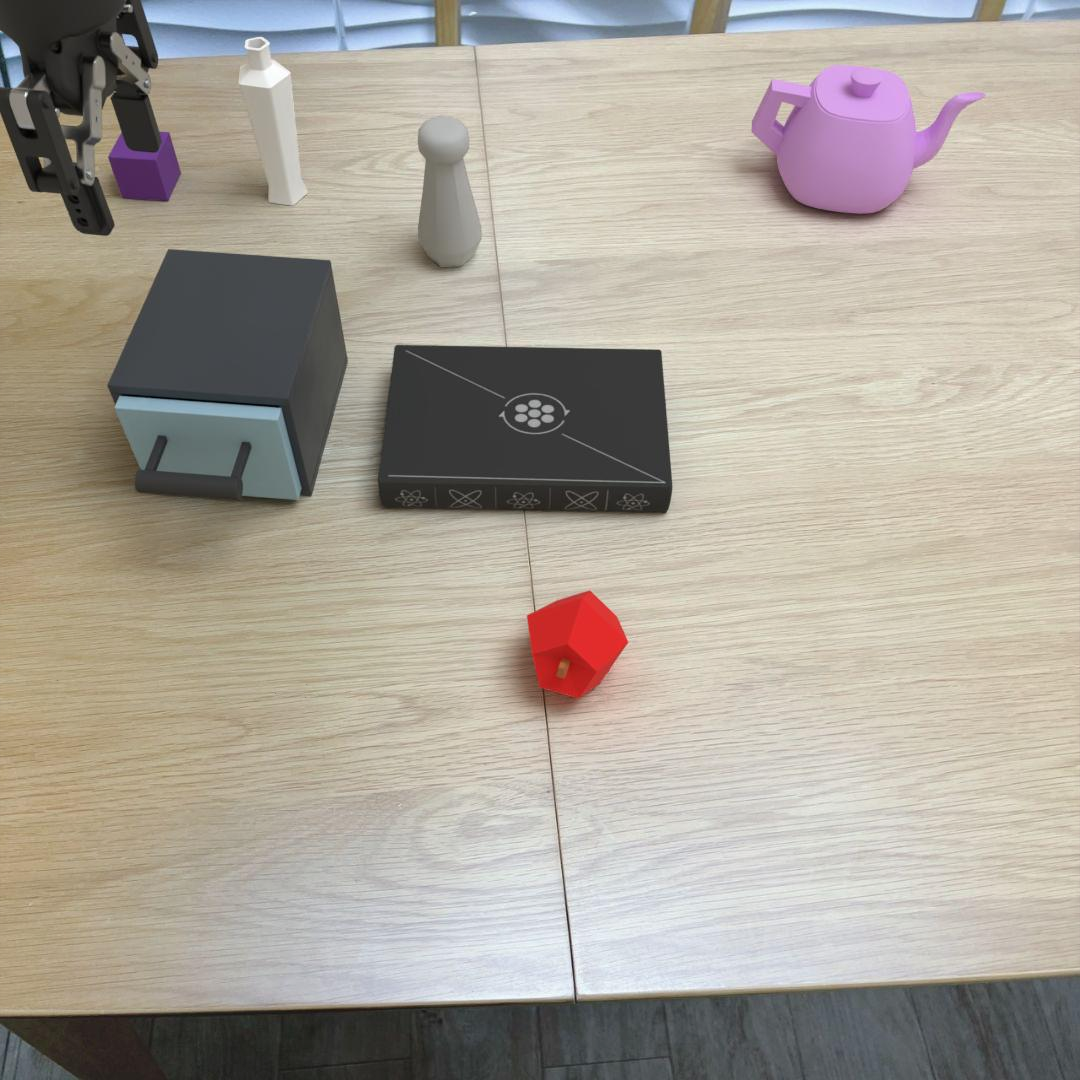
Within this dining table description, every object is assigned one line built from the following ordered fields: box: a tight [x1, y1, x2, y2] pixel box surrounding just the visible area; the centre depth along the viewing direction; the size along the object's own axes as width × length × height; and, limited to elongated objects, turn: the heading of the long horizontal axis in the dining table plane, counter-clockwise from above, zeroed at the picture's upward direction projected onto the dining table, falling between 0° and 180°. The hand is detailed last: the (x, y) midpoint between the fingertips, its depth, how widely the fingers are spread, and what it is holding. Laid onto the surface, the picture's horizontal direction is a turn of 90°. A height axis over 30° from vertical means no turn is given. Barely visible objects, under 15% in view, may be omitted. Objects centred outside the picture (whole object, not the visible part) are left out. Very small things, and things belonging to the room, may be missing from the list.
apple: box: [526, 589, 629, 699], centre depth 72 cm, size 7×7×8 cm
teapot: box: [750, 64, 987, 215], centre depth 103 cm, size 13×20×11 cm
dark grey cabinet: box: [106, 248, 349, 497], centre depth 83 cm, size 15×13×11 cm
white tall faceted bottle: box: [237, 36, 309, 206], centre depth 99 cm, size 5×4×15 cm
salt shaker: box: [417, 115, 483, 268], centre depth 95 cm, size 6×6×13 cm
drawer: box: [114, 395, 302, 502], centre depth 81 cm, size 18×11×9 cm, turn 175°
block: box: [107, 131, 182, 202], centre depth 104 cm, size 4×4×4 cm
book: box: [377, 344, 673, 513], centre depth 85 cm, size 22×15×3 cm
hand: (122, 188), depth 69 cm, fingers open, 8 cm apart
